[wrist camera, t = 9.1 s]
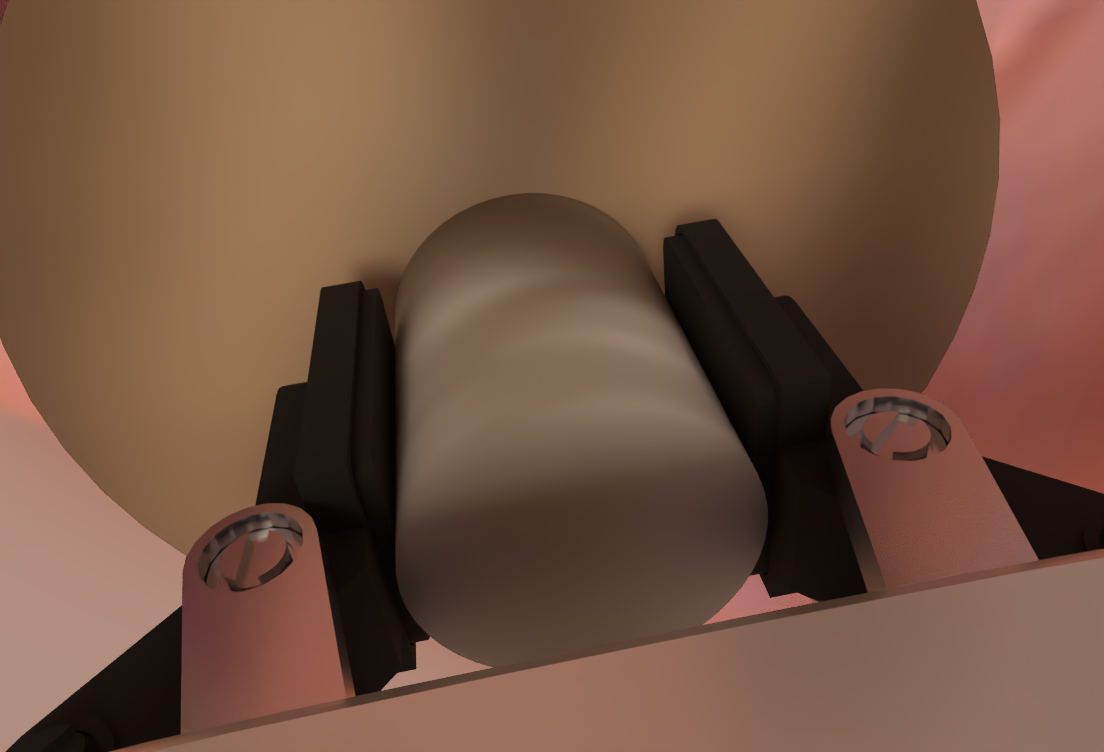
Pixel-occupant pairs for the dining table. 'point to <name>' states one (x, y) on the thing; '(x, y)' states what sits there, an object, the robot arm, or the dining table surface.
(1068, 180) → the dining table surface
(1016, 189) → the dining table surface
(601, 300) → the lid
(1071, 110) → the dining table surface
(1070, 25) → the dining table surface
